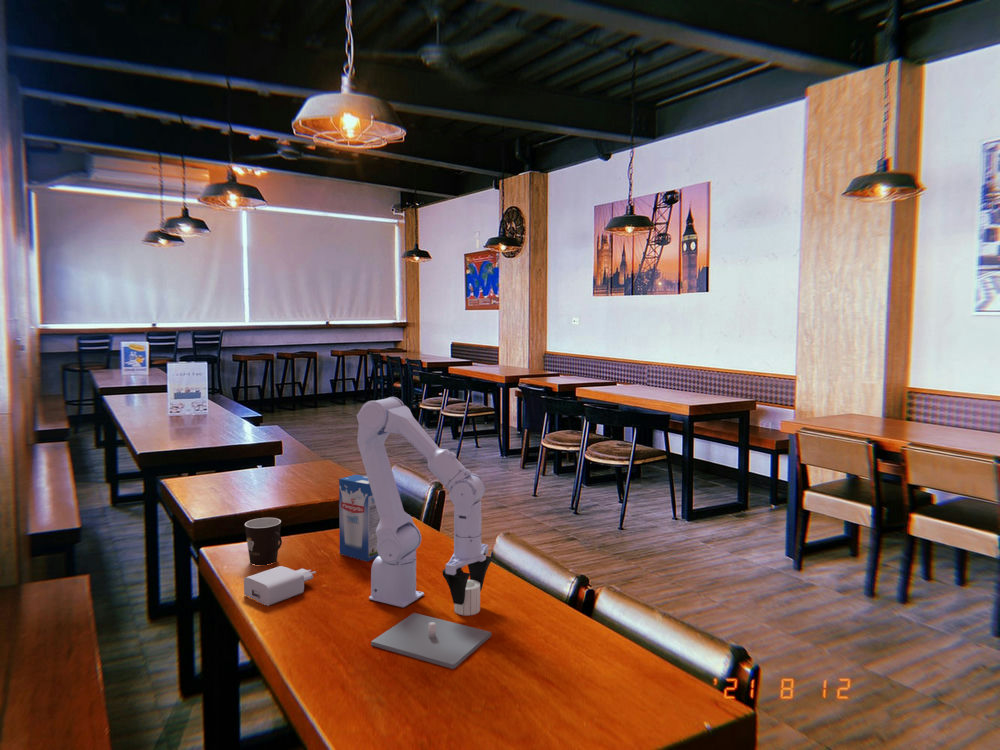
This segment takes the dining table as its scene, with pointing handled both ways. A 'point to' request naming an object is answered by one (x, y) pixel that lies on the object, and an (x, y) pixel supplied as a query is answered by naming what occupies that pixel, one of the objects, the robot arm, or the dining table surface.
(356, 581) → the dining table surface
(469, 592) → the paper roll
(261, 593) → the charger
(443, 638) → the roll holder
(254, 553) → the coffee mug
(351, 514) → the milk carton
